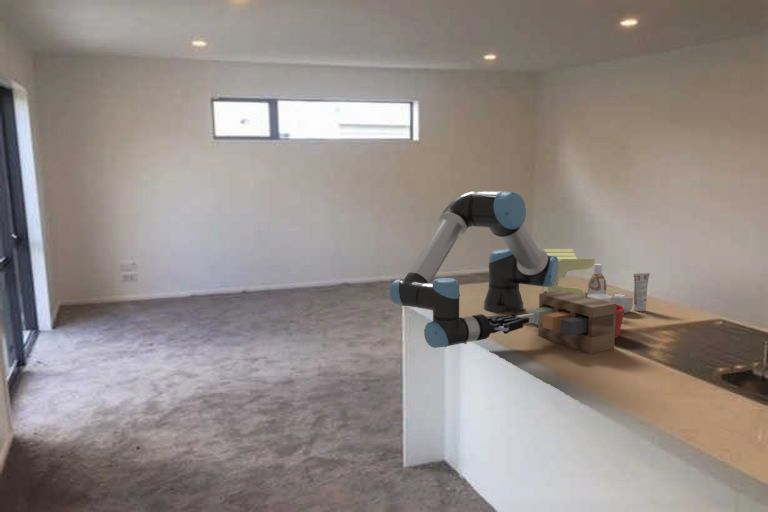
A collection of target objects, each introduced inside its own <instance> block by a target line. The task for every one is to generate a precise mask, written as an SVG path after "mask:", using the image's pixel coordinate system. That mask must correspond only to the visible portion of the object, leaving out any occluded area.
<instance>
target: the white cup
mask: <svg viewBox="0 0 768 512" xmlns="http://www.w3.org/2000/svg"><path fill="white" fill-rule="evenodd" d="M586 296H587V297H591V298H595V299H600V300H604V301H608V302H611V296H609V295H607V294H606V295H604V294H589V295H588V294H586Z"/></svg>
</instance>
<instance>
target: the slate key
mask: <svg viewBox="0 0 768 512" xmlns="http://www.w3.org/2000/svg"><path fill="white" fill-rule="evenodd" d="M588 318H589V316H585V315H582V316H577V317H571V318H566V319H561V329H560V332H561V333H564V334H567V335H570V336H572V335H577V334H582V333H587V332H588Z"/></svg>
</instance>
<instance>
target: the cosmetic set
mask: <svg viewBox="0 0 768 512" xmlns="http://www.w3.org/2000/svg"><path fill="white" fill-rule="evenodd" d="M602 271H603V264H602V263H594V266H593V274H592V275H591V276H590V278H589V280H588V283H587V295H589V294H604V295H609V296H611V302H612V303H616V305H621V306H623V307H624V308H625V310H624V314H627V313H629V312H630V311H631V310H632V309H633V310H634V311H635V312H639V311H640V312H642V311H643V312H645V311H646V310H647V296H648V285H649V278H650V274H651V273H650V272H645V273H643V272H642V273H640V272H639V273H633V280H634V291H633V293H634V294H629V293H624V292H609V293H607V280H606V278H605V276H604V275H603V274H602ZM643 312H642V313H643Z"/></svg>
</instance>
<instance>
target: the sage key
mask: <svg viewBox="0 0 768 512" xmlns="http://www.w3.org/2000/svg"><path fill="white" fill-rule="evenodd" d="M528 310H529V312H528V314H530V313H533V314H535V323H534V324H535V325H538V324H543V314H549V313H554V307H552V306H547V307H541V308H539V307H536V308H530V309H528Z"/></svg>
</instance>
